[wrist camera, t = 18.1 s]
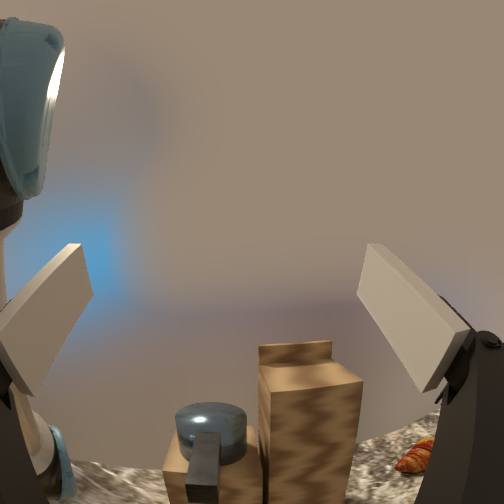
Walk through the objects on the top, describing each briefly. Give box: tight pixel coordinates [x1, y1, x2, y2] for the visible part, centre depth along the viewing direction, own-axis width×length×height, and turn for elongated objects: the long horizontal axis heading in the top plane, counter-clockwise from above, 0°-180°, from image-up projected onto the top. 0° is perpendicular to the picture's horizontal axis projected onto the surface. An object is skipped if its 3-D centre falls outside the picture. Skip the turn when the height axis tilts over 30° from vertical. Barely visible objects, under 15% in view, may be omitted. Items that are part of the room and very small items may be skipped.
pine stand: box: [162, 340, 363, 504], centre depth 35 cm, size 26×14×33 cm, turn 95°
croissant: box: [395, 437, 435, 473], centre depth 41 cm, size 21×10×8 cm, turn 98°
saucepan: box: [175, 402, 247, 504], centre depth 29 cm, size 10×21×6 cm, turn 4°
